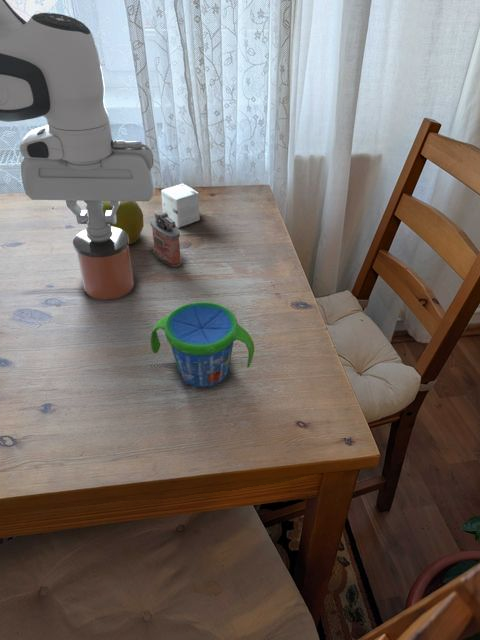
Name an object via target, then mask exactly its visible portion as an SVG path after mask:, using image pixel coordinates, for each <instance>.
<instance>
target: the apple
mask: <svg viewBox="0 0 480 640" xmlns="http://www.w3.org/2000/svg"><path fill="white" fill-rule="evenodd" d="M101 203H102V205H103V213H104V216H105V215H106V212H107V211H112V208H113V206H110V201H102V202H101ZM116 217H117V222H116V224H110V226H111V227H116V228H119V229H121V230H123V231H125V232H126V233H127V235H128V238H129V244H128V246H129V245H132V244H134V243H136V242H137V241H138V240H139V238H140V236H141V234H142V231H143V229H144V225H145V224H144V212H143V210H142V208H141V207H140V205H139V204H138V201H121V202H120V205H119V208H118V210H117V212H116ZM105 219H106V217H105ZM106 221H107V220H106Z"/></svg>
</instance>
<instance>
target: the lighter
mask: <svg viewBox="0 0 480 640" xmlns="http://www.w3.org/2000/svg"><path fill="white" fill-rule="evenodd" d="M149 223H150V227H151V231H152V240H153V253H154V254H155V256H156V257H157V258H158V259H159V260H161V261H162V262H163V263H164V264H167V265H169V266H170V267H179V266H180V265H181V264H182V263H183V261H182V259H181V246H180V237H181V233H180V230H179V229H178V227H176V225H175V221H174V220H172V219H171V218H169V216H168V214H167V213H166V212H165V213H163V211H161V210H155V211H154V218H152V219H150V221H149Z"/></svg>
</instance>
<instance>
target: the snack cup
mask: <svg viewBox="0 0 480 640" xmlns="http://www.w3.org/2000/svg"><path fill="white" fill-rule="evenodd" d="M159 329H161V330H163V331H164V334H165V338H166V340H167V342H168V344H169V345H170V347H171V351H172V354H173V357H174V361H175V364H176V367H177V371H178V373H179V375H180V377H181V379H182V380H183V381H184V382H185V383H186V384H188V385H191V386H193V387H198V388H208V387H213V386H216V385H218V384H219V383H221V382H222V381H224V379H225V378H226V377H227V375H228V373H229V369H230V363H231V359H232V352H233V347H234V341H240V342H242V343H244V344H245V347H246V349H247V351H248V356H247V365H246V368H250V366H251V364H252V361H253V357H254V354H255V344H254V341H253V338H252V337H251V335H250V333H249V332H248V331H247V330H246V329H245V328H243V327H242V326H241V325H240V324H239V323H238V320H237V317H236V315H235V314H234V313H233V311H231V310H230V309H229V308H228V307H225V306H224V305H221V304H219V303H214V302H207V301H198V302H190V303H187V304H184V305H181V306H179V307H177V308H176V309H174V310H173V311H172V312H171V313H169V314H168V315H166V316H164V317H162V318H160V319H159V320H158V321H157V323H156V324H155V326H154V327H153V329H152V331H151V333H150V348H151V351H152V353H153V354H157V353H158V352H159V350H160V348H161V341H160V338H159V336H158V332H157V331H158V330H159Z"/></svg>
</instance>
